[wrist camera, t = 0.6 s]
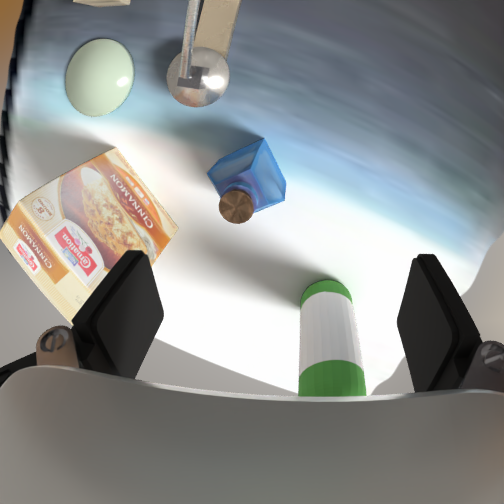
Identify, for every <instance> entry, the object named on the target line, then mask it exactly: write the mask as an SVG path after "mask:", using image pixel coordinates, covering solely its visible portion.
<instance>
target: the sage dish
mask: <svg viewBox="0 0 504 504" xmlns="http://www.w3.org/2000/svg"><path fill="white" fill-rule="evenodd" d="M134 76H135V68H134V62H133V59H132V56H131V54H130V52H129V51H128V49H127V48H126V47H125V46H124V45H123V44H121V43H119V42H117V41H115V40H111V39H97V40H93V41H91V42H89V43H87V44H85V45H84V46H83V47H81V48H80V49H79V50H78V51H77V52H76V54H75V55H74V56H73V58H72V60H71V62H70V64H69V66H68V69H67V73H66V81H65V83H66V92H67V96H68V98H69V100H70V102H71V104H72V105H73V107H74V108H75V109H76V110H77V111H79V112H80V113H82V114H84V115H86V116H91V117H97V116H102V115H106V114H109V113H111V112H113V111H114V110H116V109H117V108H119V107H120V106H121V105H122V104H123V103H124V101H125V100H126V99H127V97H128V95H129V94H130V91H131V89H132V86H133V82H134Z"/></svg>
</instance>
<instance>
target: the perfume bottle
mask: <svg viewBox="0 0 504 504" xmlns="http://www.w3.org/2000/svg"><path fill="white" fill-rule="evenodd" d="M207 175H208V176H209V178H210V180H211V182H212V184H213V185H214V187H215V189H216V191H217V193H218V194H219V196H220V202H219V211H220V213H221V215H222V216H223V218H224V219H226V220H227V221H228V222H231V223H235V224H240V223H244V222H246V221H248V220H249V219H250V218H251V216H252V214H253V213H255V212H258V211H260V210H263V209H265V208H268V207H270V206H272V205H275V204H277V203H280V202H282V201H285V191H286V181H285V179H284V177H283V175H282V173H281V171H280V169H279V167H278V165H277V162H276V160H275V158H274V156H273V154H272V152H271V150H270V148H269V146H268V144H267V142H266V140H265V138H264V139H262V140H259V141H257V142H255V143H253V144H251V145H248V146H246V147H244V148H242V149H240V150H238V151H236V152H234V153H231V154H229V155H227V156H225V157H223V158H221V159H219V160H218V162H217V163H216V164H215V165H214V166H213V167H212V168H211V169H210V170H209V171H208V173H207Z"/></svg>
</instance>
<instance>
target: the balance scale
mask: <svg viewBox="0 0 504 504" xmlns="http://www.w3.org/2000/svg"><path fill="white" fill-rule="evenodd" d="M241 2H242V0H205V1H204V4H203V8H202V12H201V16H200V20H199V24H198V28H197V32H196V36H195V31H196V24H197V17H198V11H199V4H200V0H189V2H188V8H187V15H186V22H185V30H184V38H183V46H182V52H181V53H179V54H178V55H177V56H176V57H175V58H174V59H173V61H172V62H171V64H170V66H169V68H168V72H167V85H168V89H169V91H170V93H171V94H172V96H173V97H174V98H175V99H176V100H177V101H178V102H180V103H182V104H183V105H186V106H190V107H203V106H207V105H209V104H212V103H214V102H215V101H217V100H218V99H219V98H220V97H221V96H222V95H223V94H224V93H225V91H226V90H227V87H228V85H229V81H230V69H229V66H228V64H227V62H226V61H227V57H228V53H229V49H230V45H231V40H232V36H233V32H234V28H235V24H236V21H237V17H238V13H239V9H240V5H241ZM194 38H195V41H194Z"/></svg>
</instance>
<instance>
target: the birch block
mask: <svg viewBox="0 0 504 504" xmlns="http://www.w3.org/2000/svg"><path fill="white" fill-rule="evenodd" d="M130 1H131V0H73V2H77V3H82V4H87V5H91V6H96V7H105V6H119V5H130Z"/></svg>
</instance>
